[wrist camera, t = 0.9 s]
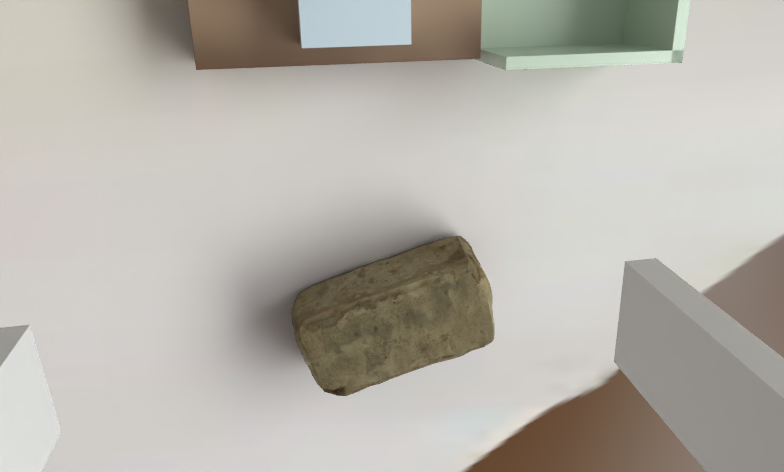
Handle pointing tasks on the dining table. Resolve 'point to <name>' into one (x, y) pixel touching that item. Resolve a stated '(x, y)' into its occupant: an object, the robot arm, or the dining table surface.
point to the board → (282, 47)
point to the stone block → (394, 316)
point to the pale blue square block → (354, 23)
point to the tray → (582, 32)
